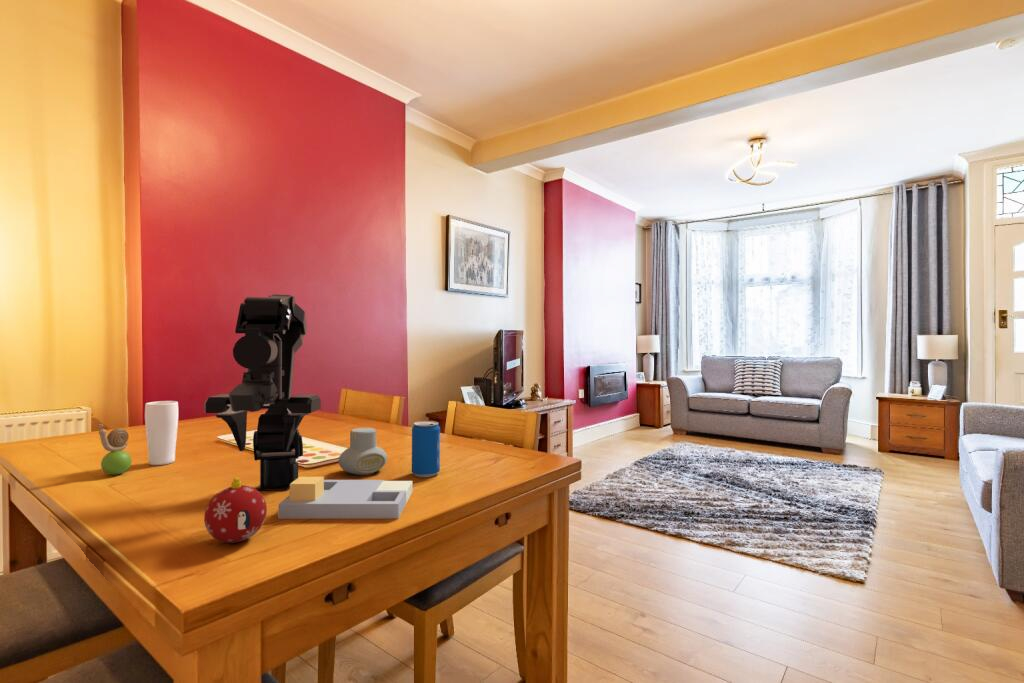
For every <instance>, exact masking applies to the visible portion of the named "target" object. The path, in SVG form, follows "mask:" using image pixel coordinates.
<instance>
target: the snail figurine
mask: <svg viewBox="0 0 1024 683" xmlns="http://www.w3.org/2000/svg"><path fill="white" fill-rule="evenodd" d="M97 426H98V428H99V431H98V435H99V437H100V438H99V439H100V442H101V445H102V447H103V449H104V450H105V451H108V453H106V454H105V455H104V456H103V458H102V459H101V463H100V466H101V469H102V470H103V472H104V473H106V474H108V475H111V476H112V475H113V476H114V475H120V474H123V473H125V472H127V470H129V469H130V467H131V465H132V460H133V459H132V457H131V455H130V453H128V452H127V451H125V450H124V449H126V447H127V446H128V445H129V444H128V440H129V433H128V431H127V430H126V429H124V428H122V427H121V428H120V427H119V428H114V429H113V430H111V431H110V432H109V433H108V434H107V432H108V431H107V430H106V428H105V429H104V428H103V427H104V424H100V423H99V424H98V425H97Z"/></svg>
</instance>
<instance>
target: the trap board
mask: <svg viewBox="0 0 1024 683" xmlns="http://www.w3.org/2000/svg"><path fill="white" fill-rule="evenodd" d="M413 486H414V485H413V480H384V479H324V493H323V494H322V495H321V496H320V497H318V498H317V499H316V500H315V501H290V494H289V495H288V496H287V497H285V498H284V499H282V500H281V501H280V502H279V503H278V519H279V520H280V519H281V520H282V519H283V520H284V519H285V520H286V519H293V520H294V519H302V520H303V519H306V520H307V519H308V520H309V519H322V520H323V519H327V520H329V519H331V520H332V519H349V520H350V519H360V520H361V519H365V520H366V519H375V520H376V519H388V520H389V519H400V517H401V514H402V512H403V510H405V506H406V505H407V503H408V501H409V499H410V497H411V495H412V493H413Z"/></svg>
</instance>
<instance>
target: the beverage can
mask: <svg viewBox="0 0 1024 683" xmlns="http://www.w3.org/2000/svg"><path fill="white" fill-rule="evenodd" d="M440 469H441V427H440V425H439V422H438V421H434V420H420V421H416V422H414V423H413V426H412V428H411V473H412V474H414V476H415V477H417V478H432V477H435V476H436V475H437V474H438V473H439V472H440V471H441V470H440Z"/></svg>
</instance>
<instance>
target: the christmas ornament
mask: <svg viewBox="0 0 1024 683" xmlns="http://www.w3.org/2000/svg"><path fill="white" fill-rule="evenodd" d="M267 510H268V509H267V502H266V500H265V497H264V496H263V495H262V493H261V492H259V490H256V488H254V487H252V486H248V485H242V481H241V480H240V478H239V477H237V476H236V477H234V478H233V481H231V486H229V487H226V488H224V489H222V490H220V491H219V492H217V493H216V494H215V495H214V496H213V497H212V498H211V499H210V500H209V502H208V504H207V506H206V508H205V511H204V516H203V519H204V522H203V523H204V526H205V528H206V530H207V533H208V534H209V535H210V537H212V538H214V539H215V540H217V541H219V542H221V543H226V544H235V543H241V542H244V541H246V540H248V539H250V538H251V537H253V536H254V535H255V534H256V533H257V532H259V530H260V529H261V528H262V526H263V525H264V522H265V520H266V517H267V513H268V512H267Z"/></svg>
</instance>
